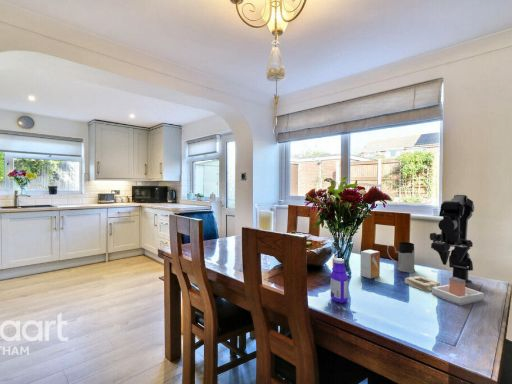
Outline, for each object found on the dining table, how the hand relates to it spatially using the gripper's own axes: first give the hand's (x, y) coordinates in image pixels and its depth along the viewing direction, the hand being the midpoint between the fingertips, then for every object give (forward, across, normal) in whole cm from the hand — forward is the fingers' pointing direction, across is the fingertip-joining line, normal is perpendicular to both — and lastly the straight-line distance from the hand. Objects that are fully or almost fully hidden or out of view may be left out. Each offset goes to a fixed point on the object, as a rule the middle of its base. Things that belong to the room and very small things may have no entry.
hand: (451, 263), depth 123 cm
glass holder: (+13, -5, -32) cm, 35 cm away
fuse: (+12, +5, +6) cm, 14 cm away
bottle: (+12, +54, -9) cm, 56 cm away
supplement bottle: (+12, +32, -40) cm, 53 cm away
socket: (+12, +7, -9) cm, 17 cm away
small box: (+13, +19, -30) cm, 37 cm away
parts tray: (+12, +5, +6) cm, 14 cm away
